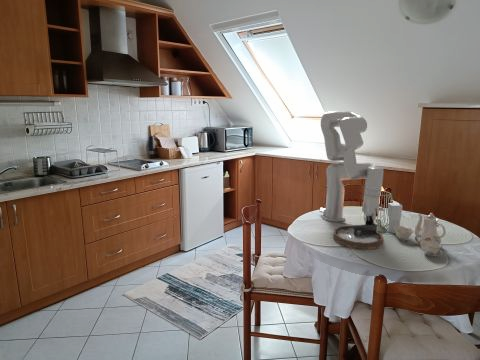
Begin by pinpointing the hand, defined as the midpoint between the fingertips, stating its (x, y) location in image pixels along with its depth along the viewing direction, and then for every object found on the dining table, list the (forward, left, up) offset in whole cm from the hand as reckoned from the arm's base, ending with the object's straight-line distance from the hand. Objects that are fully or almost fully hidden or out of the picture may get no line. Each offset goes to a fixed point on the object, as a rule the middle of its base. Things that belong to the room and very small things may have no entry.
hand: (369, 227), depth 176 cm
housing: (-2, -8, -5) cm, 9 cm away
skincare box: (+4, +17, -5) cm, 18 cm away
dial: (-2, -8, -3) cm, 9 cm away
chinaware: (+23, +6, -5) cm, 24 cm away
